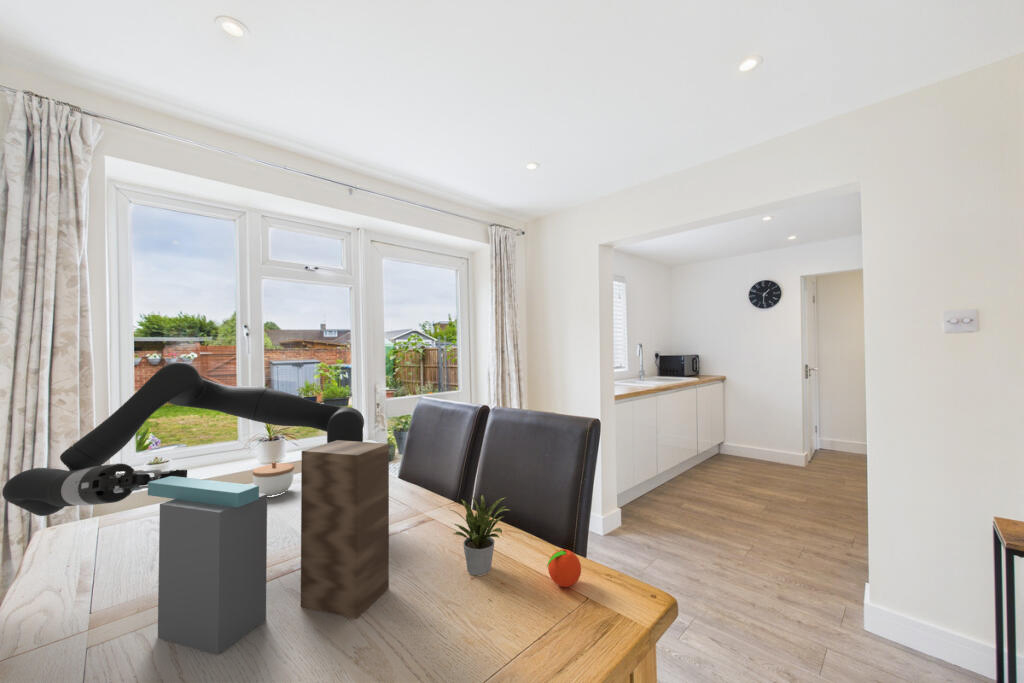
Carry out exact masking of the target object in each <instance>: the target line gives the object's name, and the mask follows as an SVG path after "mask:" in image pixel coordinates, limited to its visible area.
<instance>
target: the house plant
mask: <svg viewBox="0 0 1024 683" xmlns="http://www.w3.org/2000/svg"><path fill="white" fill-rule="evenodd" d="M470 497H471V498H472V501H473V502H474V504H475V507H476V512H475V513H474V512H473V509H472V507H471V505H470V504H468V503H467V502H466V500H464V499H462V498H461V499H460V500H461V502H462V504H463V506H464V509H465V511H466V513H465V518H464V517H463V516H462V515H461V514H460V513H458V512H457V511H455V510H453V509H450V511H452V512H454V513H456V514H457V515H458V516H460V517H461V518H462V519H463V520H464V521H465V522H466V525H467V527H468V528H466V527H464V526H463V525H460V524H458V523H454V525H455V526H456V527H458V528H459V530H461V531H455V532H454V533H453V535H456V536H461V537H464V538H465V539H464V540H463V544H462V545H463V550H464V556H465V564H466V570H467V573H468V572H469V573H470V574H471V576H473V575H484V574H486V573H488V572H489V571H490V572H491V568H492V561H493V556H494V551H495V550H494V549H495V543H496V542H495V539H494V538H498V539H500V536H499V534H497V532H498V533H500V534H503V530H502V528H500V527H496V528H494V527H495V526H496V524H497V523H498V522H499V521H500V520H501V519H502V518H504V517H505V515H504V516H503V515H502V516H500V517H498V518H497V519H495V518H496V517H497V515H498V514H499V513H501V512H504V511H510V509H508V508H507V505H506V506H502V507H500V508H498V509H497V510H496V512H495V513H494V515H493V516H492V513H493V512H494V510H495V509H496V507H497V505H499V503H500V502H501V501H502V500H505V499H506V498H507V497H506V496H505V497H502V498H499V499H497V500H496V501H494V503H493V504H492V505H491V506H489V507H487V508H486V501H485V498H484V495H483V494H481V496H480V507H479V504H478V502H477V500H476V499H475V498H474V497H473V496H472V495H470ZM491 518H492V519H491ZM462 531H463V532H464V533H465V534H464V533H463V532H462ZM493 532H496V533H493ZM490 572H489V573H490ZM469 573H468V574H469ZM489 573H488V574H489ZM470 574H469V575H470ZM486 575H487V574H486ZM484 576H485V575H484Z"/></svg>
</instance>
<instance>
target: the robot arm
mask: <svg viewBox="0 0 1024 683" xmlns="http://www.w3.org/2000/svg"><path fill="white" fill-rule="evenodd" d="M167 403H169V404H171V405H174V406H180V407H187V408H193V409H194V408H196V409H201V410H202V409H203V410H209V411H216V412H220V413H223V414H226V415H227V414H228V415H231V416H235V417H239V418H243V419H247V420H251V421H252V422H253V421H254V422H257V423H262V424H266V425H267V424H268V425H271V426H272V425H273V426H279V427H280V426H283V427H300V428H301V427H302V428H304V427H305V428H312V429H314V430H315V429H316V430H319V431H323V432H326V443H330V442H333V441H337V440H342V441H357V442H364V427H365V419H364V416H363V414H362V413H361V411H360V410H358V409H357V408H353V407H349V406H341V405H333V404H327V403H322V402H317V401H313V400H310V399H308V398H305V397H301V396H299V395H296V394H293V393H288V392H285V391H282V390H278V389H274V388H271V387H270V388H269V387H266V386H259V385H256V386H255V385H247V386H246V385H244V386H239V385H238V386H237V385H236V386H232V385H226V384H222V383H218V382H214V381H211V380H210V379H209V380H208V379H205V378H203V377H202V376H201V374H200V373H199V372H198V369H196V367H195V366H193V365H192V364H191V363H188V362H184V361H177V362H172V363H169V364H168V363H167V364H166V365H164V366H162V367H161V368H160V369H159V370H157V371H156V372H155V373H154V374H153V375H152V376H151V377H150V378H149V379H148V380H147V381H146V382H145V383H144V384H143V385H142V386H140V388H139V389H138V390H136V392H135V393H134V394H133V395H131V396H130V397H129V399H128V400H127V401H125V402H124V403H123V404H122V405H121V406H120V407H119V408H117V409H116V410H115V411H114V412H113V413H112V414H111V415H110V416H108V417H107V418H106V419H104V420H103V421H102V422H101V423H100V424H99V425H97V426H96V427H95V428H94V429H92V430H91V431H90V432H88V433H87V434H85V435H84V436H83V437H82V438H80V439H79V440H77V441H76V442H75V443H73V444H72V445H71V446H69V447H68V448H67V449H66V450H64V451H63V452H62V453H61V454H60V456H59V459H60V461H61V463H62V464H63V465H65V466H66V468H67V469H68V470H67V469H66V470H65V469H61V468H52V467H51V468H50V467H35V468H30V469H26V470H23V471H21V472H20V473H17V474H16V475H14V476H13V477H11V478H10V479H8V480H7V482H6V483H5V484H4V486H3V488H2V490H1V491H2V497H3V499H4V500H5V501H6V502H8V503H10V504H12V505H15V506H16V507H18V508H20V509H23V510H25V511H27V512H29V513H30V514H31V513H32V514H33V515H36V516H38V517H46V516H50V515H53V514H55V513H58V512H60V511H61V510H62V509H64V508H66V507H75V506H85V507H87V506H94V505H105V504H113V503H119V502H121V501H123V500H124V499H127V497H129V496H130V495H131V494H132V493H133V492H135V491H141V490H143V489H148V482H151V481H154V480H158V479H162V478H166V477H169V476H177V477H185V478H188V469H175V470H173V469H169V470H166V471H162V470H161V469H151V470H143V469H139V470H138V469H136V470H135V469H134V468H133V467H132V466H131V465H128V464H126V463H112V464H111V463H110V464H105V463H107V461H109V460H110V459H112V458H113V457H114V456H115V455H116V454H118V453H119V452H120V451H121V450H122V449H123V448H125V447H126V445H128V443H129V442H130V441H131V440H132V439H133V438H134V437H135V435H136V434H137V432H138V431H139V430H140V429H141V427H142V426H143V425H144V424H145V422H146V421H147V420H148V419H149V418H150V417H151V416H152V415H153V414H154V413H156V411H158V410H159V409H160V408H161V407H163V406H164V405H166V404H167ZM151 474H154V476H151Z"/></svg>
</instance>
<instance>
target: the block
mask: <svg viewBox="0 0 1024 683" xmlns="http://www.w3.org/2000/svg"><path fill="white" fill-rule="evenodd" d="M147 485H148V488H147V496H149V497H158V498H166V499H171V500H174V499H179V500H186V501H194V502H201V503H208V504H216V505H223V506H231V507H241V506H243V505H246V504H248V503H251V502H253V501H256V500H258V499H259V486H257V485H254V484H246V483H245V484H244V483H238V482H229V481H221V480H213V479H212V480H210V479H202V478H194V477H187V478H185V477H177V476H169V477H166V478H162V479H158V480H154V481H151V482H148V484H147Z"/></svg>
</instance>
